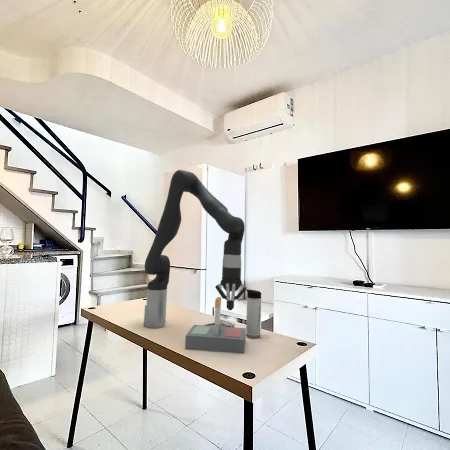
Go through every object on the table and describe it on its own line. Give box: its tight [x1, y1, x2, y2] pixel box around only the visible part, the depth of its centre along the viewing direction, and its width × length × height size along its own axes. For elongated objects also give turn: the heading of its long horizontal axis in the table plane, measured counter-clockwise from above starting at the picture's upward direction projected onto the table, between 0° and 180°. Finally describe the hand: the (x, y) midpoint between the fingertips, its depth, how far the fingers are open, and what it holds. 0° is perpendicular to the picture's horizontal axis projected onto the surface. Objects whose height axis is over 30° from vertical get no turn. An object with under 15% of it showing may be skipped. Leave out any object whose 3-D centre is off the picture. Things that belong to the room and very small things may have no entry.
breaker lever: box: [214, 296, 222, 326], centre depth 112 cm, size 2×6×11 cm, turn 174°
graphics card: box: [204, 318, 236, 328], centre depth 129 cm, size 17×4×12 cm
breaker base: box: [184, 321, 246, 354], centre depth 112 cm, size 22×14×8 cm, turn 83°
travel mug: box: [245, 289, 262, 339], centre depth 124 cm, size 6×7×20 cm
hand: (230, 309), depth 112 cm, fingers closed
